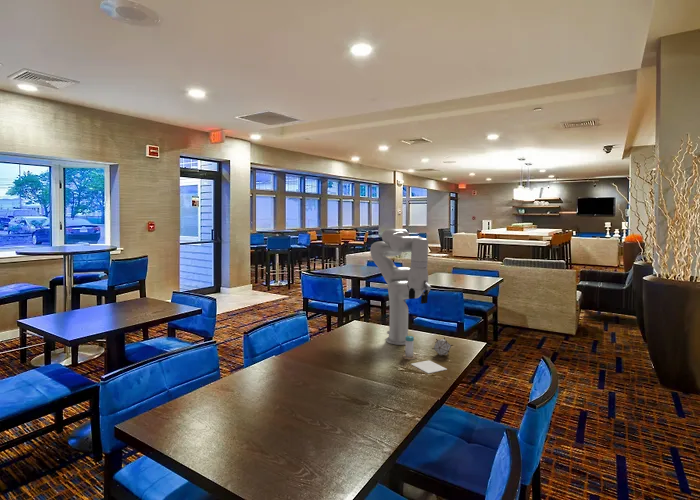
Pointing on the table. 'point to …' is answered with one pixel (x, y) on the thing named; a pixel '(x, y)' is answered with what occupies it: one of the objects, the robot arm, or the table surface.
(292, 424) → the table surface
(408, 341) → the marker
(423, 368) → the paper
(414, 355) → the disc
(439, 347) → the game die
